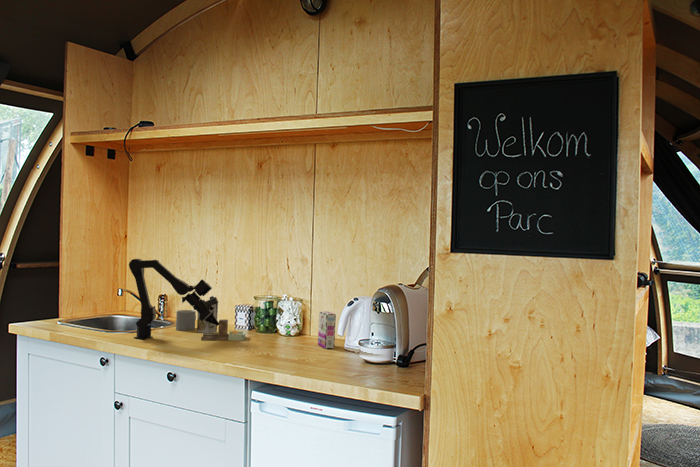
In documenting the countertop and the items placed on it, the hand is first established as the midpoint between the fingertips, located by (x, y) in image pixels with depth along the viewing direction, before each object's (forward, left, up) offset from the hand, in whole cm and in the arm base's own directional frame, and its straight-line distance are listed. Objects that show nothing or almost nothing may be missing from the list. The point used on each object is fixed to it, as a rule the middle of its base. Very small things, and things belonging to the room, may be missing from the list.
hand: (218, 324), depth 265 cm
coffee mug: (-32, +11, -7) cm, 35 cm away
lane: (-1, 0, -7) cm, 7 cm away
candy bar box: (+54, +16, -7) cm, 57 cm away
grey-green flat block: (+7, +6, -7) cm, 12 cm away
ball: (+6, +5, -5) cm, 9 cm away
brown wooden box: (+2, +1, -7) cm, 7 cm away
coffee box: (-17, +10, -7) cm, 21 cm away
